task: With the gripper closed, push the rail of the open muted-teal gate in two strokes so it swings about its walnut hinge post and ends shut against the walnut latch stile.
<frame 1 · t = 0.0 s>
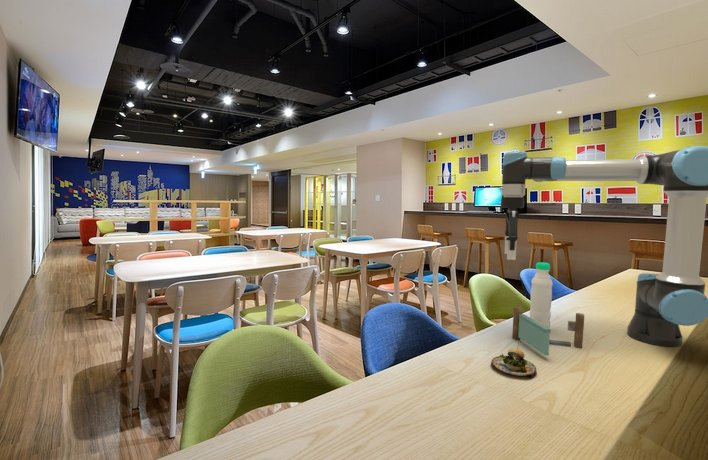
hand: (509, 256, 130), 28 cm above the table, fingers open, 13 cm apart
water bottle: (539, 329, 138), on the table
burger: (513, 371, 105), on the table
gate frame: (516, 338, 128), on the table
gate: (533, 333, 118), point 6 cm above the table, hinge at 65.0°
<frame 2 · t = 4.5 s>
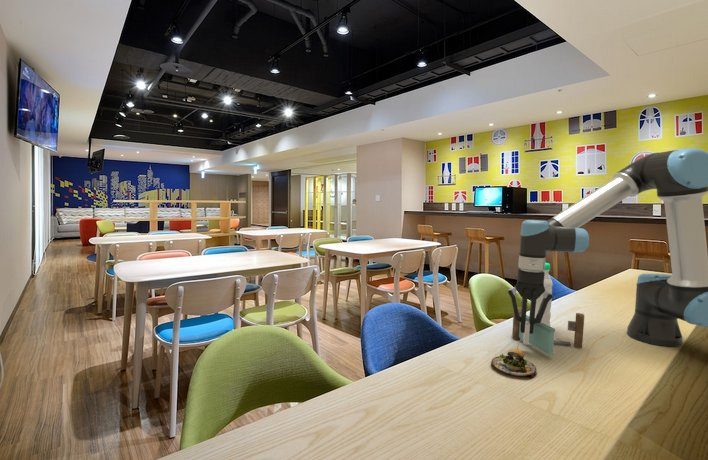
hand: (525, 342, 117), 3 cm above the table, fingers closed
gate: (535, 333, 118), point 6 cm above the table, hinge at 59.8°, touching gripper
everything else where it was.
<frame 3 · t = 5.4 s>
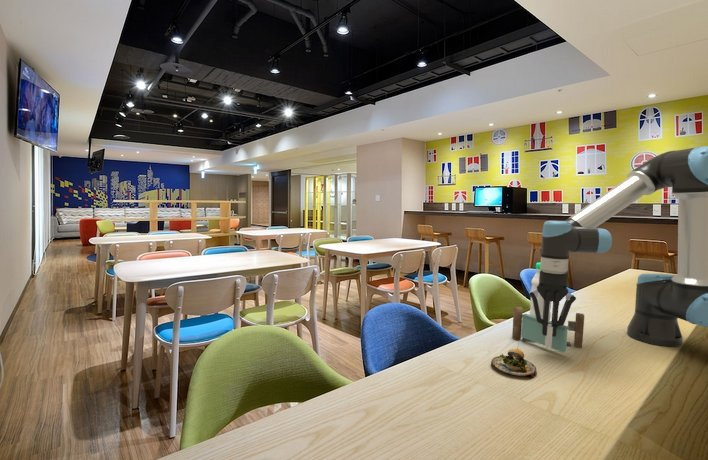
hand: (548, 345, 114), 3 cm above the table, fingers closed
gate: (543, 332, 119), point 6 cm above the table, hinge at 39.2°, touching gripper
everything else where it was.
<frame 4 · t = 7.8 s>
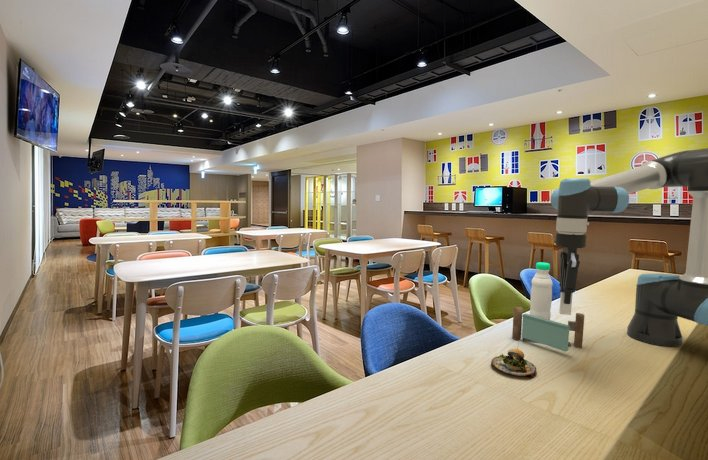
hand: (565, 313, 107), 15 cm above the table, fingers closed
gate: (544, 331, 120), point 6 cm above the table, hinge at 35.0°
everything else where it was.
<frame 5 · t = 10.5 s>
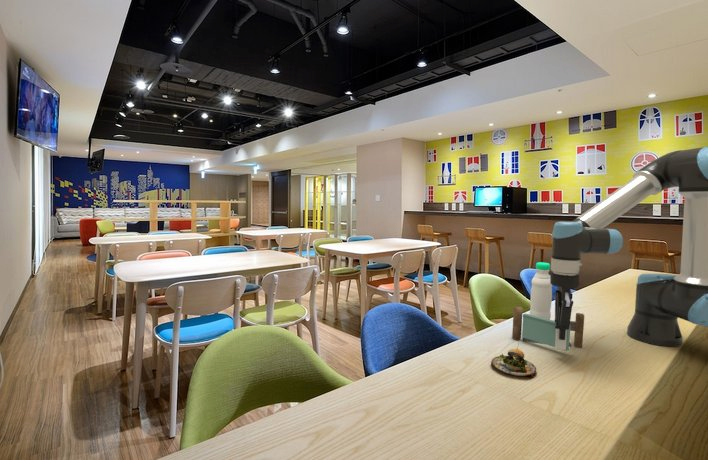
hand: (560, 348, 113), 3 cm above the table, fingers closed
gate: (545, 331, 120), point 6 cm above the table, hinge at 32.3°, touching gripper
everything else where it was.
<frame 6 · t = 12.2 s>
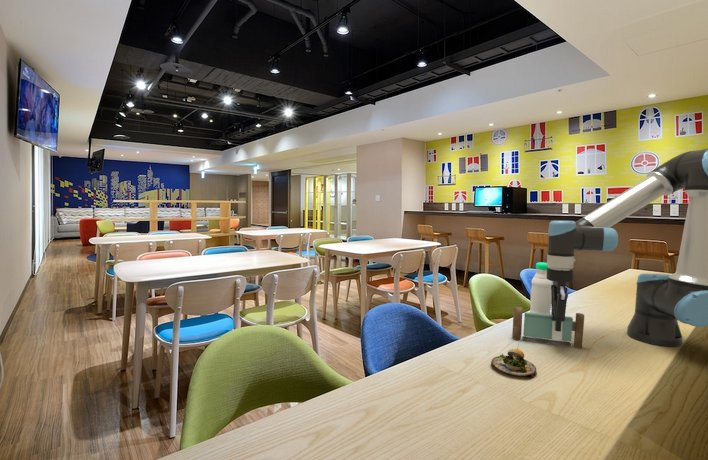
hand: (556, 339, 120), 3 cm above the table, fingers closed
gate: (547, 326, 124), point 6 cm above the table, hinge at -0.4°, touching gripper
everything else where it was.
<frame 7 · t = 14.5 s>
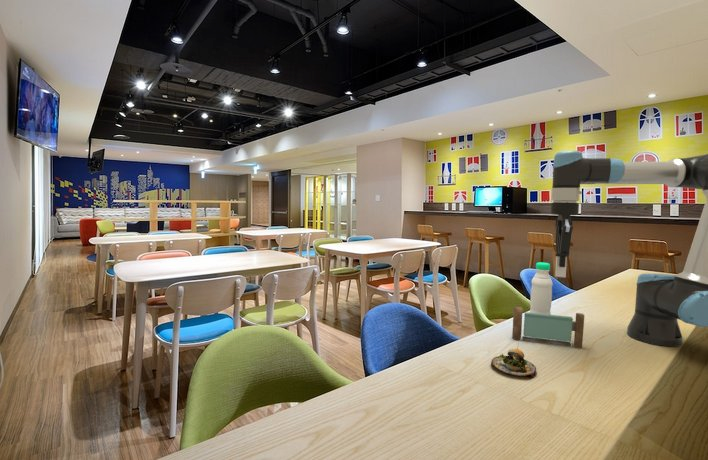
hand: (560, 276, 116), 24 cm above the table, fingers closed
gate: (547, 326, 124), point 6 cm above the table, hinge at -0.8°
everything else where it was.
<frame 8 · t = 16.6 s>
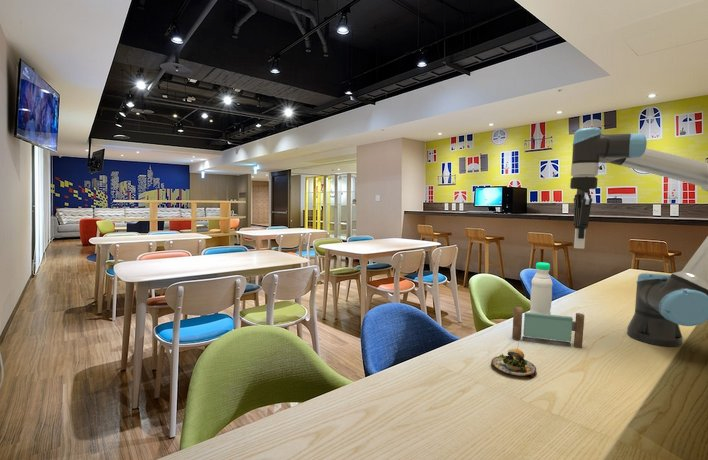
hand: (579, 248, 123), 32 cm above the table, fingers closed
nothing on the table moved.
at the end: gate at -1° (first picture: +65°) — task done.
